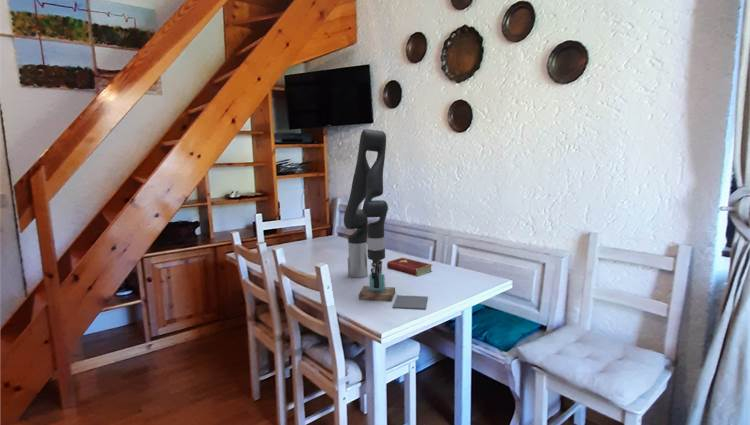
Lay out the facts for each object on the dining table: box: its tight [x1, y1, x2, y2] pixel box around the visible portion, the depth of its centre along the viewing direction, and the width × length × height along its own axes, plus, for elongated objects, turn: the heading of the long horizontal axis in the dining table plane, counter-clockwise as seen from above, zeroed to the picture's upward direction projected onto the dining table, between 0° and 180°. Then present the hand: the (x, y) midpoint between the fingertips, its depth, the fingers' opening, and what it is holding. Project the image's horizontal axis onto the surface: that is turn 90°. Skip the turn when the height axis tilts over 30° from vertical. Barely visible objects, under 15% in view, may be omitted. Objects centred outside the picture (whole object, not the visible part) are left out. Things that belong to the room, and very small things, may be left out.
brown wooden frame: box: [358, 285, 396, 302], centre depth 178 cm, size 14×10×3 cm
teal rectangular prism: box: [369, 273, 386, 291], centre depth 177 cm, size 6×2×8 cm, turn 79°
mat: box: [392, 294, 429, 311], centre depth 169 cm, size 13×13×1 cm
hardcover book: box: [386, 257, 433, 277], centre depth 215 cm, size 12×21×4 cm, turn 42°
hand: (377, 286), depth 177 cm, fingers closed on teal rectangular prism, 2 cm apart
